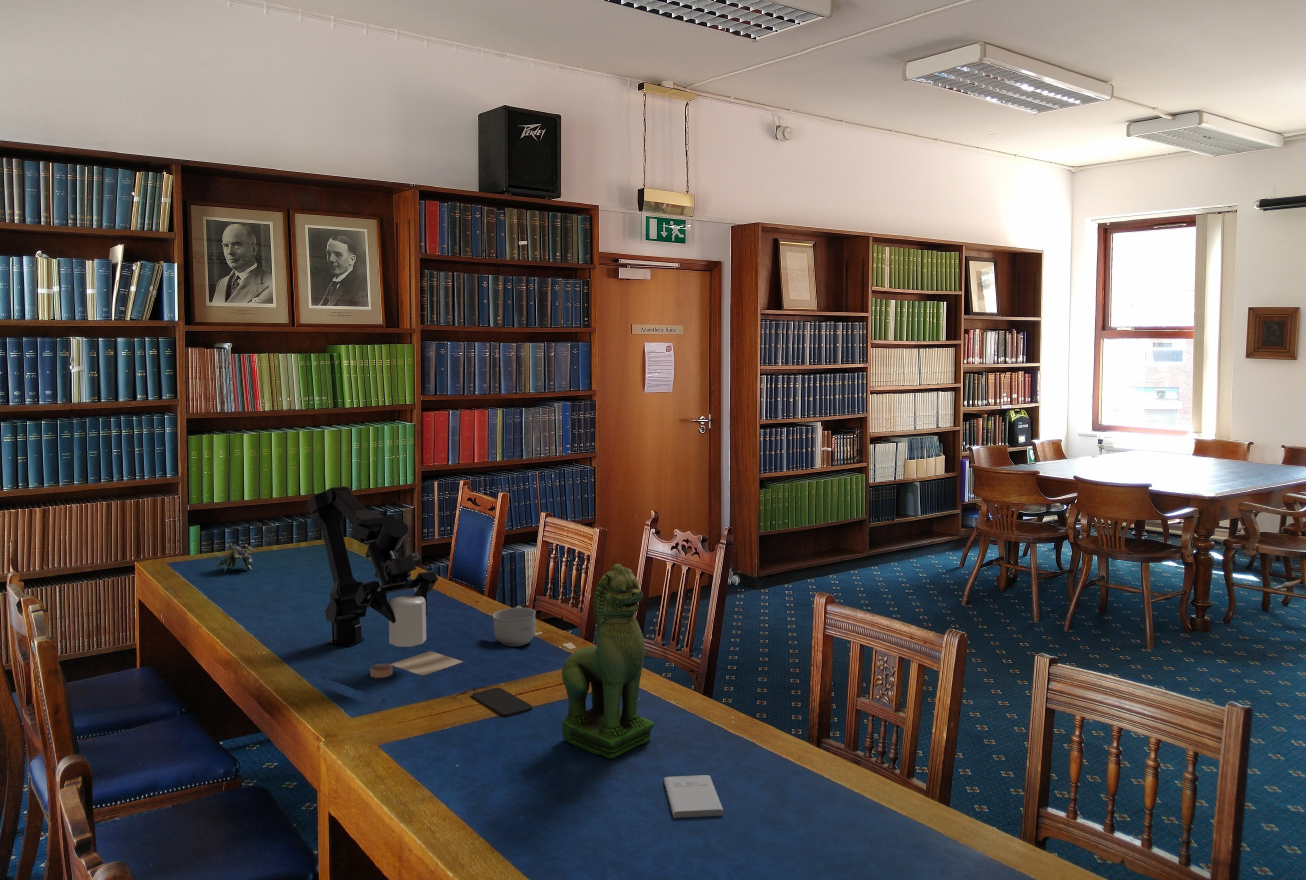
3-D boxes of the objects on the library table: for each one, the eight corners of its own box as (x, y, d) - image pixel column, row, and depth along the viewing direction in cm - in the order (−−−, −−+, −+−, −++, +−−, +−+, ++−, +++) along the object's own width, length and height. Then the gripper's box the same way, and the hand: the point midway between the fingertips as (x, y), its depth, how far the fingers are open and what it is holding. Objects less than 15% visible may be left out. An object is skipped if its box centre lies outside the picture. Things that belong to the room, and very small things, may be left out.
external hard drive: (673, 821, 149) (663, 785, 162) (723, 818, 150) (710, 782, 163) (673, 811, 149) (663, 776, 161) (723, 808, 150) (710, 773, 162)
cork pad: (389, 670, 215) (389, 664, 215) (430, 656, 225) (430, 650, 225) (422, 682, 208) (422, 675, 208) (463, 667, 218) (463, 661, 217)
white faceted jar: (400, 648, 207) (400, 607, 206) (384, 640, 212) (383, 599, 211) (431, 641, 212) (431, 600, 211) (414, 633, 218) (414, 593, 217)
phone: (499, 686, 205) (535, 706, 193) (499, 690, 205) (535, 710, 193) (468, 694, 200) (503, 715, 189) (469, 697, 200) (503, 719, 189)
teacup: (527, 651, 230) (527, 619, 229) (486, 648, 232) (486, 616, 231) (545, 634, 243) (545, 604, 243) (506, 631, 246) (506, 602, 245)
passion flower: (249, 585, 310) (261, 560, 306) (215, 585, 303) (227, 559, 298) (241, 561, 317) (254, 536, 312) (208, 560, 309) (220, 534, 305)
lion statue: (614, 764, 168) (615, 575, 164) (550, 739, 178) (550, 561, 175) (661, 740, 178) (663, 562, 175) (598, 718, 189) (599, 549, 185)
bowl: (366, 682, 208) (365, 669, 207) (378, 675, 212) (378, 662, 212) (384, 685, 206) (384, 671, 206) (396, 677, 210) (396, 664, 210)
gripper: (359, 548, 206) (384, 607, 199) (433, 536, 219) (459, 591, 212) (344, 576, 213) (367, 634, 206) (417, 563, 225) (441, 617, 219)
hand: (410, 618), depth 210 cm, fingers closed on white faceted jar, 8 cm apart
